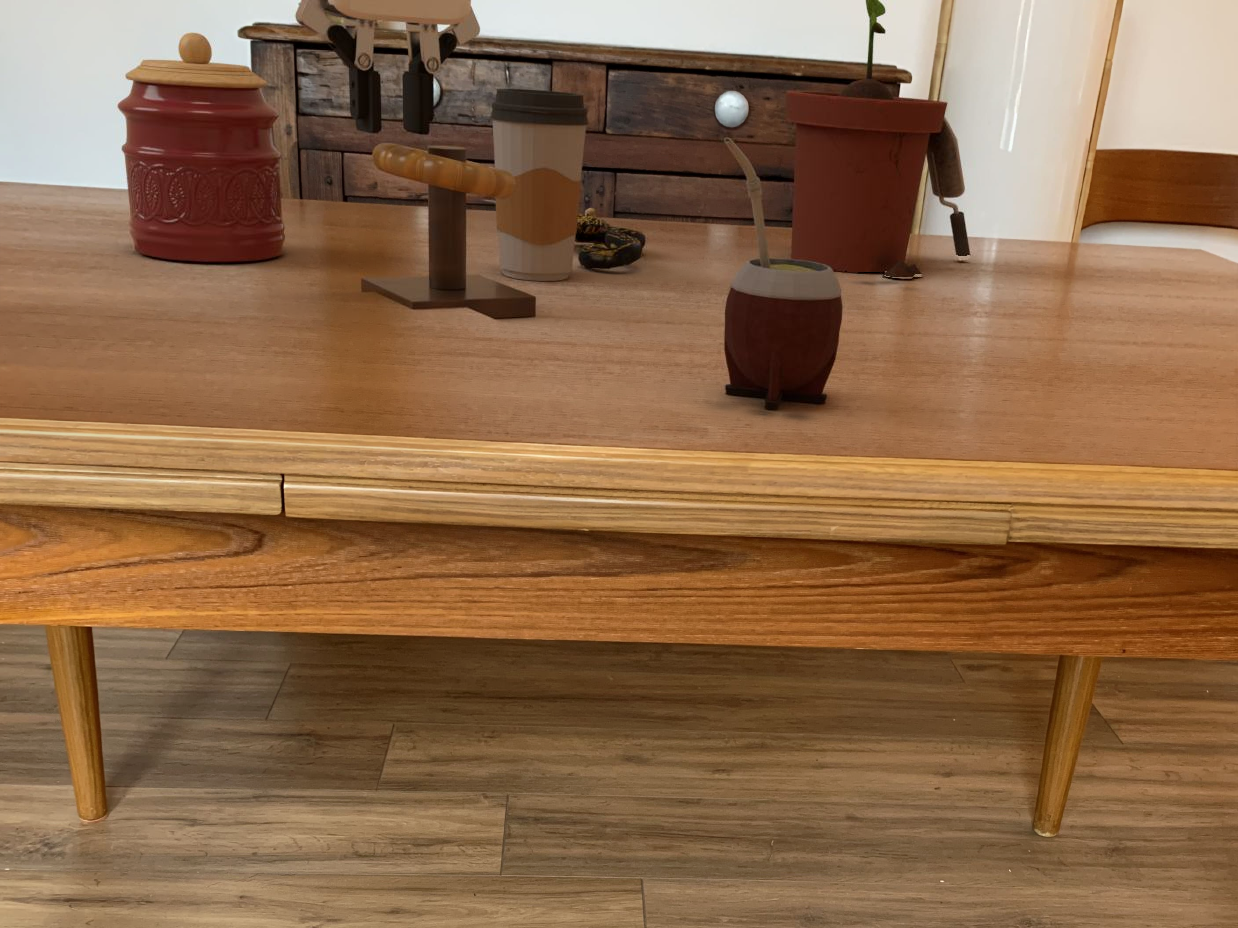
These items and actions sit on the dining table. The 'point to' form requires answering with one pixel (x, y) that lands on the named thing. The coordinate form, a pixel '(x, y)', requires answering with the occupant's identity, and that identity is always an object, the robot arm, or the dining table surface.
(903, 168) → the potted plant
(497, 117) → the coffee cup
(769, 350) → the mate gourd
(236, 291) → the dining table surface
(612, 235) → the rubber snake
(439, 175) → the ring
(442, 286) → the wooden peg stand
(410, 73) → the robot arm
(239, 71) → the kitchen canister
